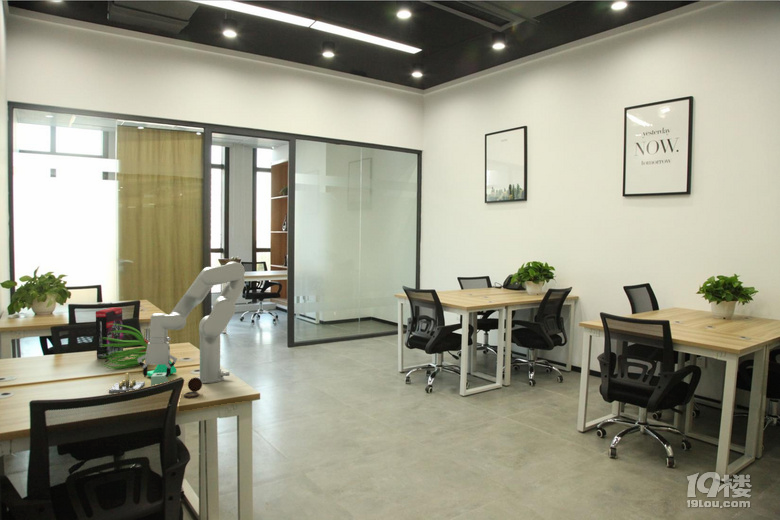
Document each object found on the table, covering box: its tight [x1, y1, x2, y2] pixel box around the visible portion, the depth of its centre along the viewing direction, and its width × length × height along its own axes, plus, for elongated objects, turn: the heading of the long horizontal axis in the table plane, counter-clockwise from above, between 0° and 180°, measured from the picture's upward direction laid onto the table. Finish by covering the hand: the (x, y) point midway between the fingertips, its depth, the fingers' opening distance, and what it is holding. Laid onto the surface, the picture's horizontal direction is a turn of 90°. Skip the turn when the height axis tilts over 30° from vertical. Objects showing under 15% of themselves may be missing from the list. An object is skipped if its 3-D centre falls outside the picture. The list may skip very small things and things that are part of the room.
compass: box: [183, 377, 203, 399], centre depth 222 cm, size 8×8×7 cm
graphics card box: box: [95, 307, 124, 360], centre depth 294 cm, size 17×7×27 cm, turn 179°
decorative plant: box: [99, 324, 149, 370], centre depth 271 cm, size 26×25×30 cm
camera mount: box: [146, 360, 177, 378], centre depth 254 cm, size 12×8×10 cm, turn 146°
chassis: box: [108, 372, 146, 394], centre depth 231 cm, size 12×12×7 cm
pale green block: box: [150, 373, 168, 387], centre depth 237 cm, size 6×6×5 cm
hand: (156, 376), depth 237 cm, fingers open, 9 cm apart
